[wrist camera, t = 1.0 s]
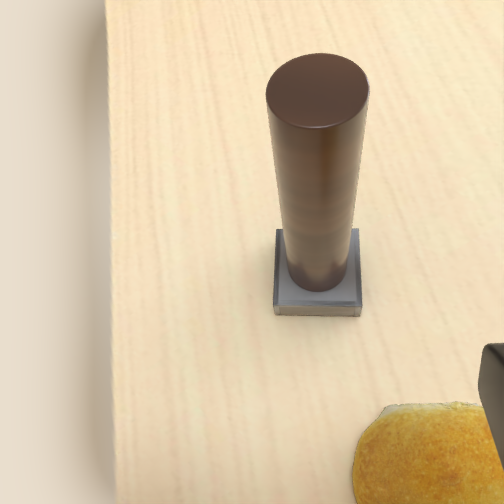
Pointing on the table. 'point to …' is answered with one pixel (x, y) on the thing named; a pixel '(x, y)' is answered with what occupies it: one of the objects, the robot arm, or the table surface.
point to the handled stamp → (317, 183)
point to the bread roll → (428, 457)
